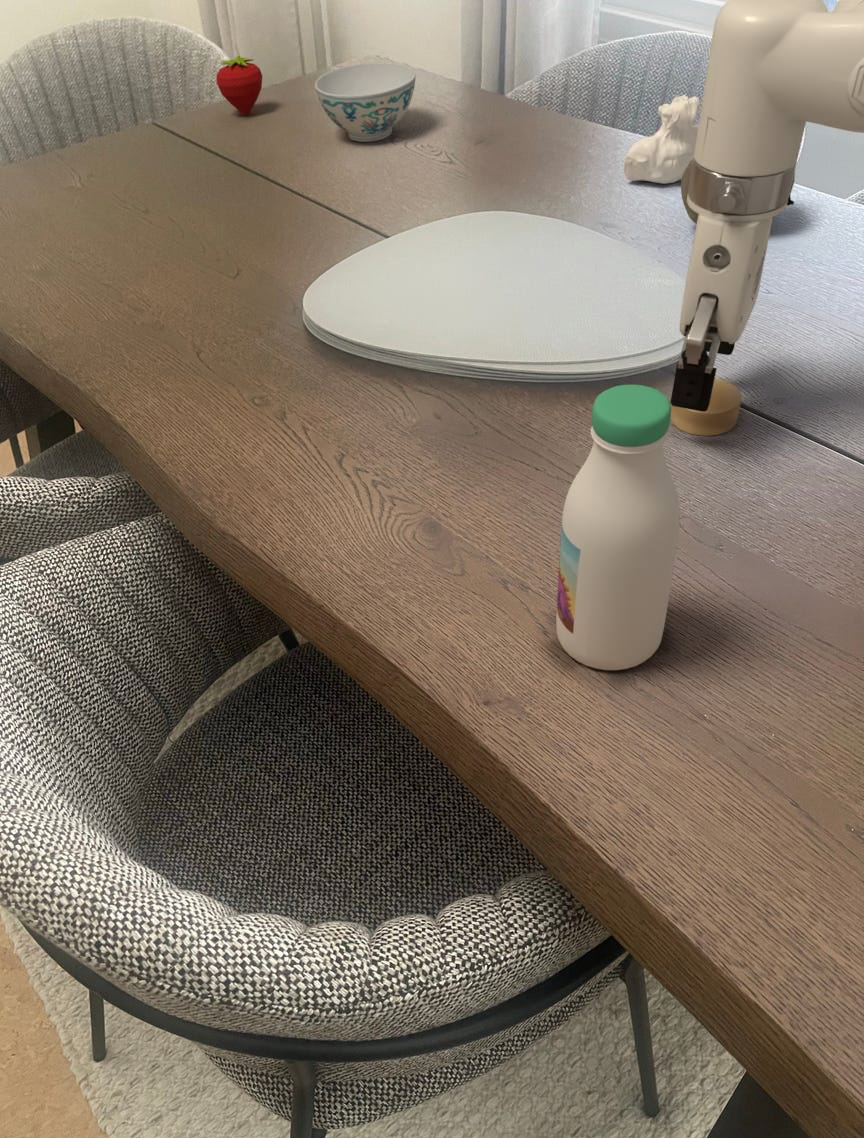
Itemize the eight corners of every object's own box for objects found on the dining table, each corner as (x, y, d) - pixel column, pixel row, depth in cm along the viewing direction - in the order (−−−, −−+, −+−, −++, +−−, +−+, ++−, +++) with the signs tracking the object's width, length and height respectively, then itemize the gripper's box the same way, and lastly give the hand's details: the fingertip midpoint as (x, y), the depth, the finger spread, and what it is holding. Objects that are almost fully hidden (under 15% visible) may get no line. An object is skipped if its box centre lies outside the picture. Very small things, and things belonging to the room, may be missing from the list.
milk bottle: (678, 620, 72) (719, 385, 58) (635, 688, 68) (668, 453, 54) (583, 587, 76) (601, 357, 61) (537, 649, 71) (543, 419, 57)
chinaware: (326, 120, 155) (319, 67, 149) (419, 112, 153) (416, 58, 148) (318, 156, 144) (310, 99, 139) (418, 147, 143) (414, 90, 137)
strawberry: (222, 112, 162) (209, 45, 155) (267, 105, 163) (255, 38, 156) (224, 124, 158) (210, 55, 151) (269, 117, 159) (258, 48, 151)
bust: (625, 207, 127) (664, 152, 116) (603, 156, 128) (639, 97, 117) (702, 185, 130) (747, 128, 119) (679, 135, 131) (722, 74, 120)
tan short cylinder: (701, 392, 93) (705, 369, 91) (751, 418, 89) (756, 395, 87) (656, 416, 91) (658, 393, 89) (705, 443, 87) (709, 421, 85)
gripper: (768, 237, 68) (723, 439, 81) (809, 146, 78) (764, 338, 91) (662, 223, 71) (634, 422, 83) (715, 137, 81) (684, 325, 93)
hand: (702, 378), depth 87 cm, fingers open, 9 cm apart
